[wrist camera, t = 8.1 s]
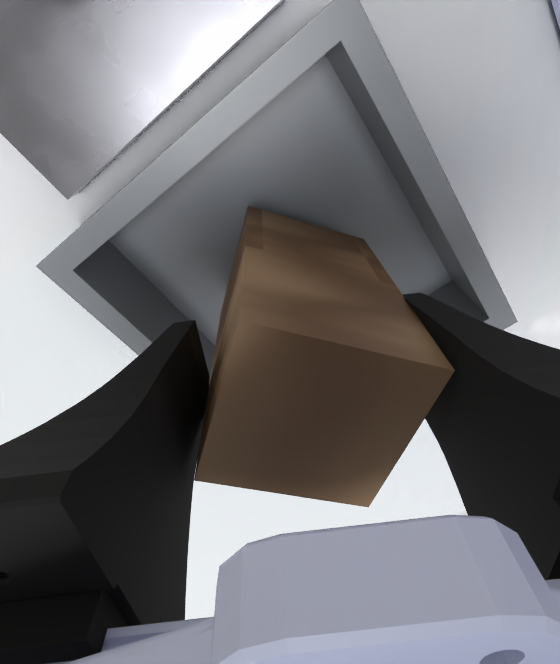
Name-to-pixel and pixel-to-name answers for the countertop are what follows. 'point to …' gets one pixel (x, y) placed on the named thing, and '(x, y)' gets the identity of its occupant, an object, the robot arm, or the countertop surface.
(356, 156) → the charcoal bin
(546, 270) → the countertop surface
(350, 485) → the walnut strut
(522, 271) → the countertop surface
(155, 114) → the stud plate
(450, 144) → the countertop surface
